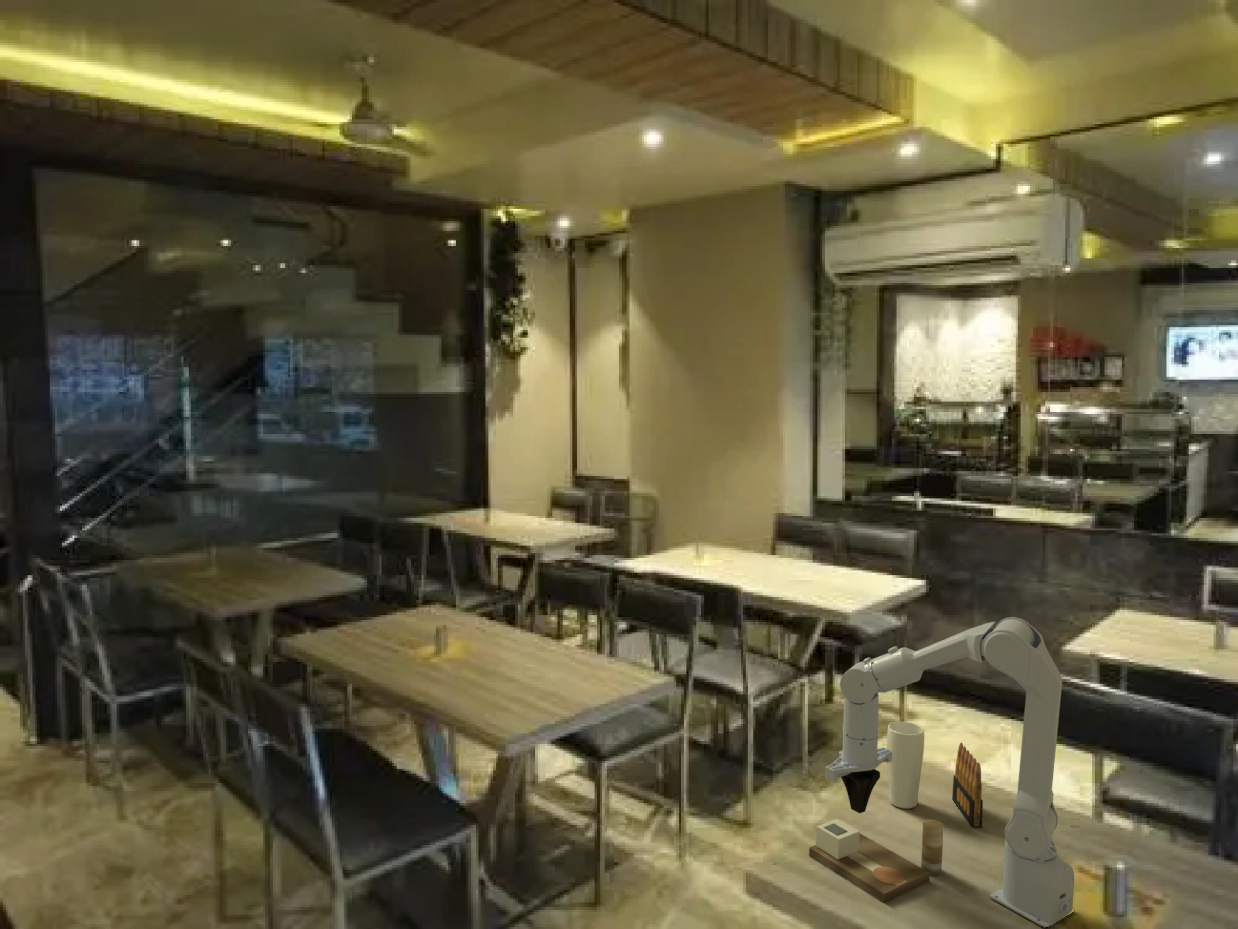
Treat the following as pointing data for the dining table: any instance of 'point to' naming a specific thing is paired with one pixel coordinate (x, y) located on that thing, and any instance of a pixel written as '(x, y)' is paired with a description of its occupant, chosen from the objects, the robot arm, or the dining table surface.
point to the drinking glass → (905, 763)
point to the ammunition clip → (968, 787)
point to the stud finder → (837, 838)
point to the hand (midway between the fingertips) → (858, 810)
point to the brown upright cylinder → (932, 847)
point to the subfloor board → (875, 869)
